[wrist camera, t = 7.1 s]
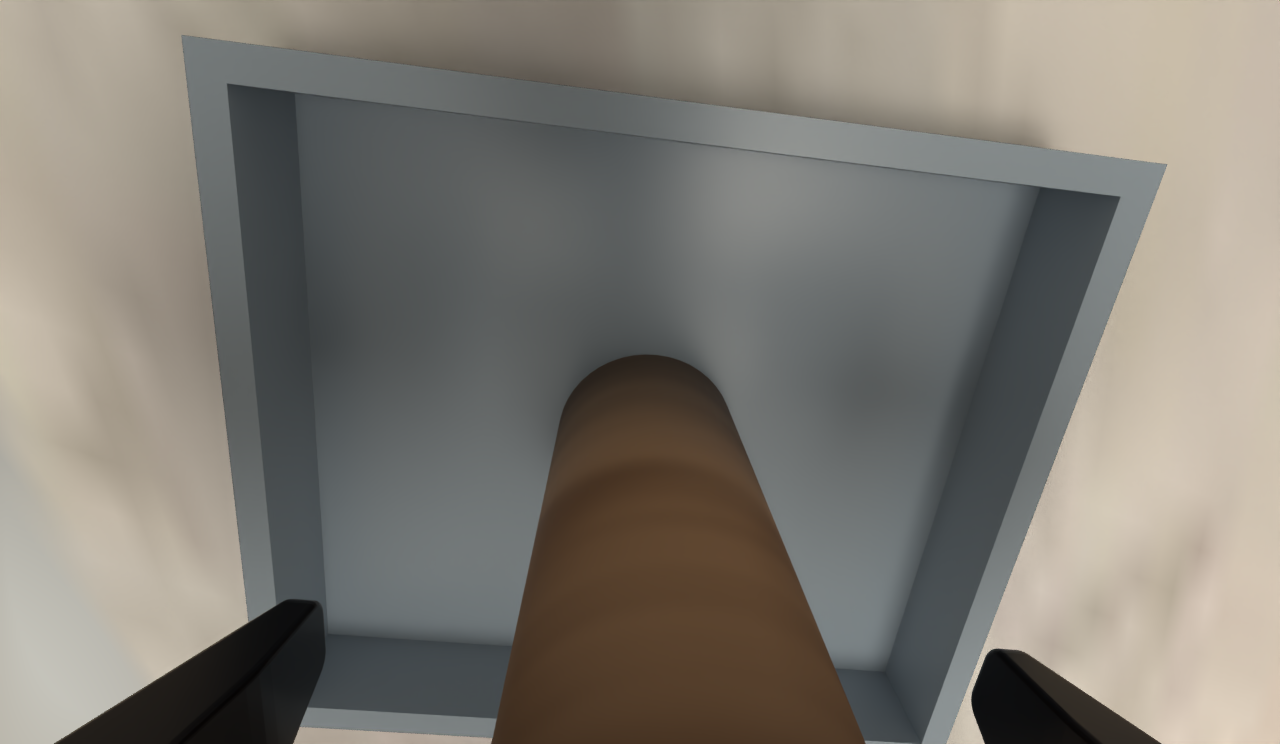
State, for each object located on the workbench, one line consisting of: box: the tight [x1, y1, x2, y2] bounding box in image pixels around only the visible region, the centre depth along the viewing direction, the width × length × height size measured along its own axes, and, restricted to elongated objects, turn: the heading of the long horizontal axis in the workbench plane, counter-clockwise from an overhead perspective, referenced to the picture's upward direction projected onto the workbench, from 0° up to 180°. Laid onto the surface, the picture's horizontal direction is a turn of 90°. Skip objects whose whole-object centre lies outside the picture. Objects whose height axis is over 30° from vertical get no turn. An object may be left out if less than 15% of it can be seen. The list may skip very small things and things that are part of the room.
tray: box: [182, 35, 1167, 744], centre depth 14 cm, size 14×16×3 cm
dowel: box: [491, 354, 866, 744], centre depth 10 cm, size 4×4×10 cm
